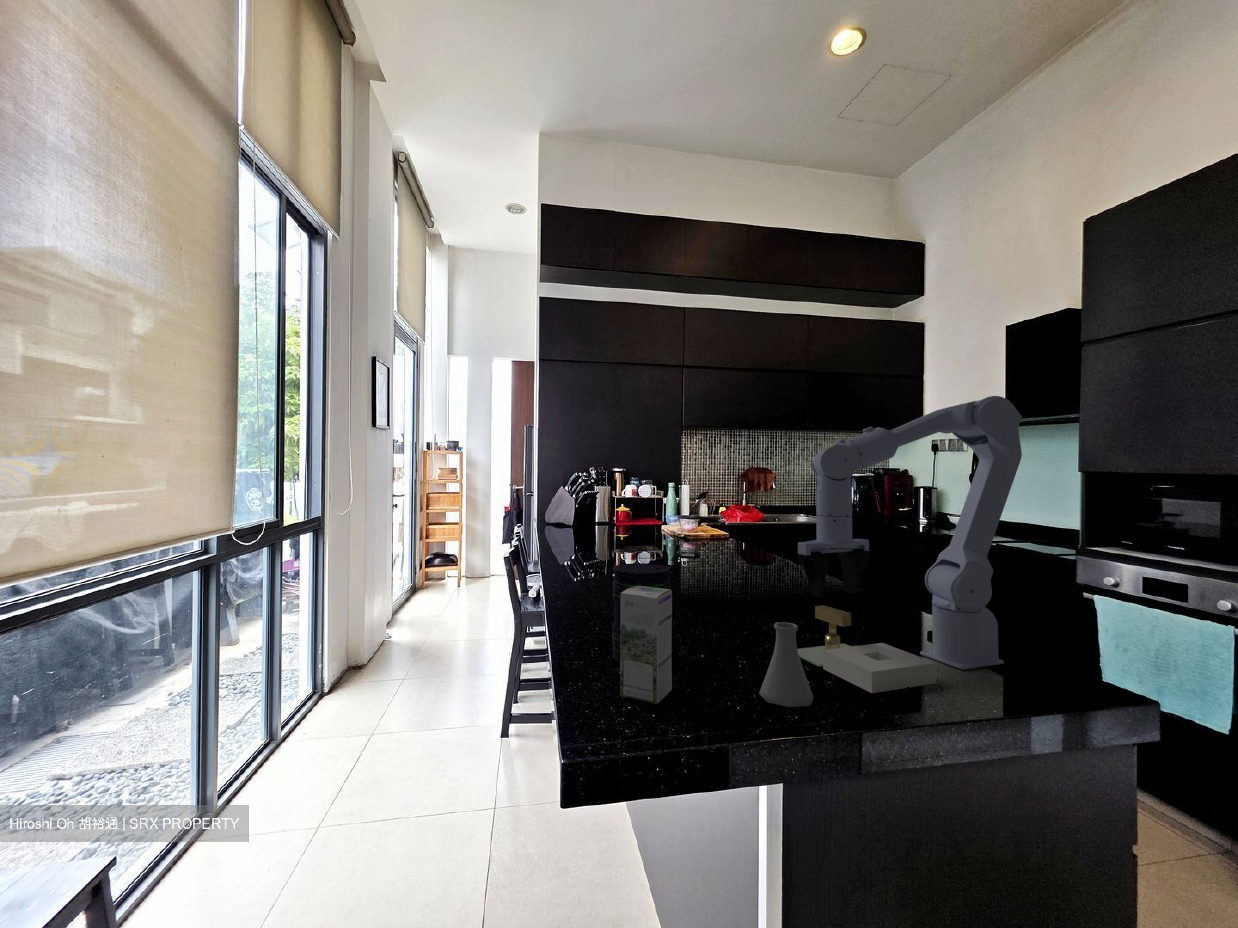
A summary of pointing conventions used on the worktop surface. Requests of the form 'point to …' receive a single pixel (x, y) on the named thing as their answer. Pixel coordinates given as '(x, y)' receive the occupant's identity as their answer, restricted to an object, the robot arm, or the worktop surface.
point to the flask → (786, 671)
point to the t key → (832, 623)
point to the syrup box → (645, 643)
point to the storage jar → (629, 578)
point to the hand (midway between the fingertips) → (834, 594)
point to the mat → (815, 654)
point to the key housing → (879, 667)
